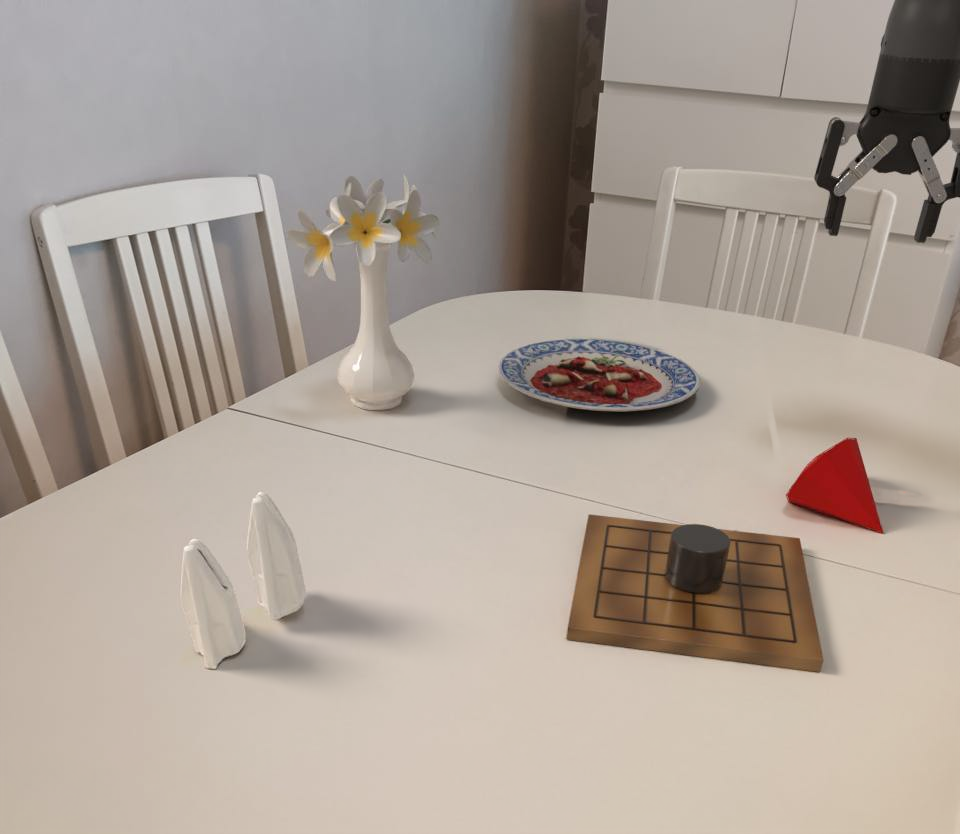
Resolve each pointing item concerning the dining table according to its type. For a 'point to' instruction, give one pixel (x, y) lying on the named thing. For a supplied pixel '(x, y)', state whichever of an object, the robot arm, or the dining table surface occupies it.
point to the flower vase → (370, 281)
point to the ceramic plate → (599, 375)
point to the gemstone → (838, 486)
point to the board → (695, 598)
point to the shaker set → (213, 593)
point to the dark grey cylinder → (697, 558)
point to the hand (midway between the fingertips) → (875, 237)
